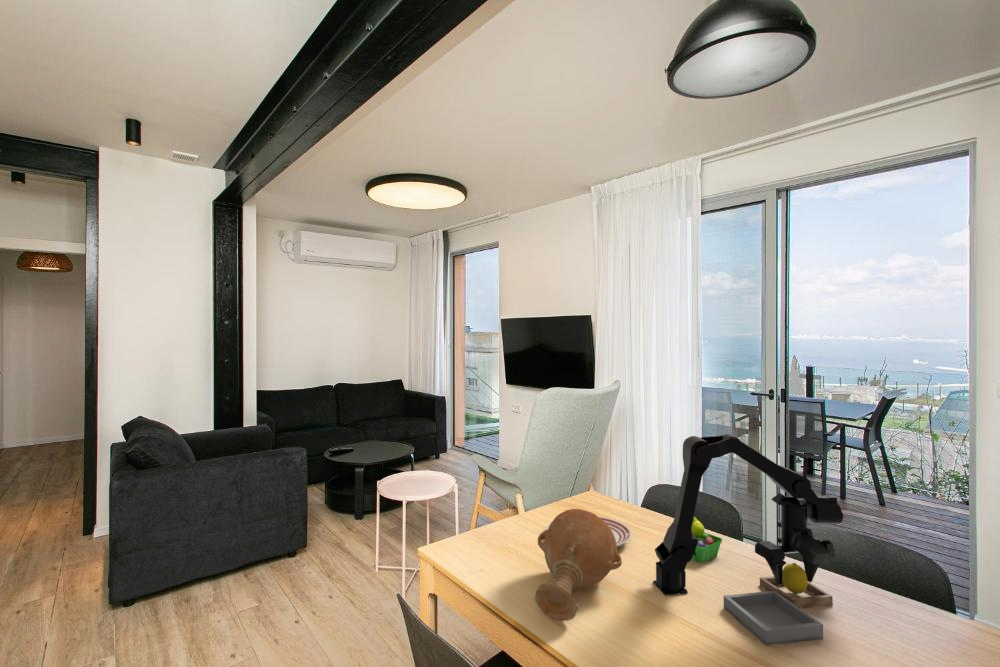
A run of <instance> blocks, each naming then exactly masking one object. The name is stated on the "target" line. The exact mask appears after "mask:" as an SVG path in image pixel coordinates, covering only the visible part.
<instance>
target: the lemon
mask: <svg viewBox="0 0 1000 667" xmlns="http://www.w3.org/2000/svg"><path fill="white" fill-rule="evenodd" d="M808 582H809V581H808V580H807V575H806V573H805V569H804V567H802V566H800V565H799V564H797V563H796V562H792V563H786V564H785V565H784V566H783V583H784V587H785V588H786V589H787V590H788V591H789V592H791V593H792V594H793V595H795V596H796V595H798V594H799V595H800V594H803V593H804V592H806V591H807V590H806V588H807V585H808Z"/></svg>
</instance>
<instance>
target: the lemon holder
mask: <svg viewBox="0 0 1000 667" xmlns="http://www.w3.org/2000/svg"><path fill="white" fill-rule="evenodd" d="M783 585H784V583H783V581H782V585H781V586H783ZM759 586H760V587H762V589H764V590H766V591H776V592H777V593H779V594H780V595H782V596H783V597H784V598H786V599H787V600H789V601H790V602H792V603H793V604H794V605H796V606H797V607H799V608H800V609H805V608H815V607H822V606H823V607H824V606H831V605H833V604H834V602H833V595H832V594H829V593H828V592H826V591H825V590H823V589H821V588H820V587H818V586H816V585H814V584H813V583H812V582H809V581H808V585H807V588H806V590H805V591H807V592H808V593H810V594H812V595H813V596H803V597H796V598H795V597H794V598H793V597H792V596H790V595H789V594H788V593H786V592H785V591H783V590H782V589H780V588H779V587H778V586H780V585H779V584H778V583H777V581H776V579H775V577H774V575H773V576H762V577H759ZM784 586H785V585H784Z"/></svg>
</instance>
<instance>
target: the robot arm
mask: <svg viewBox="0 0 1000 667" xmlns="http://www.w3.org/2000/svg"><path fill="white" fill-rule="evenodd" d="M729 454H734V455H736V456H737V457H739V458H740V459H741V460H743V461H745V462H746V463H748V464H750V465H751V466H753V467H754V468H756V469H757V470H759V471H760V472H762V473H764V474H765V475H766V476H767V477H768V478H769V479H770V480H771V481H772V482H773V483H774V484H775V485H776V486H777V487H778V488H779V489H780V490H782V491H784V492H785V493H787V494H789V496H785V495H784V494H782V493H780V492H778V493H777V495H775V496H772V498H771V501H773V502H774V503H776V504H777V505H778V506H780V521H777V522H776V523H777V524H776V526H777V527H779V528H780V537H777V542H778V543H779V544H781V545H776V544H775V543H773V542H772V541H768V540H767V541H758V542H757V541H756V543H755V544H754V553H755V554H757V555H759V556H760V557H762V558H763V559H765V561H766V563H767V564H768V566H769V569H770V571H771V573H772V575H773V576H774V577H775V579H776V581H777V583H778V584H779V585H778V586H783V585H782V581H783V569H784V567H785V566H786V565H787V564H788V563H787V562H786V561H785V558H786V555H789V554H790V555H791V554H800V555H801V556H802V560H803V561H802V562H803V570H804V571H805V573H806V575H807V580H808V582H810V583H812V582H813V581H814V580H813V579H814V577H815V576H816V573H817V571H818V569H819V567H820V564H824V565H825V564H826V563H827V561H828V560H830V558H835V548H834V543H832V541H831V540H829V539H824V540H823V539H821V538H819V537H814V536H813V531H812V528H810V527H808V519H810V521H811V522H813V523H814V524H831V525H835V524H836V525H839V524H841V523H842V522H843V519H844V513H843V512H842V508H841V506H840V504H839V503H838V498H837V497H836V496H834V495H833V494H826V495H818V494H816V493H815V491H814V490H813V489H812V484H811V481H810V480H809V478H807V477H806V476H804V475H801V474H800V473H798V472H796V471H794V470H792V469H790V468H787V467H785V466H783V465H780V464H777V463H775V462H774V461H773V460H771V459H769V458H767V457H766V456H765V455H763V454H762V453H760V452H759V451H757V450H755V449H753V448H752V447H750V446H749V445H748V444H746V443H744V442H743V441H741V439H739V438H738V437H737V436H734V435H732V434H729V433H726V434H722V435H712V436H710V435H709V436H702V437H699V436H696V435H691V436H689V437H687V438H685V439H684V440H683V442H682V462H683V474H682V479H681V483H680V488H679V493H678V498H677V504H676V508H675V513H674V517H673V522H672V523H671V524H670V525H669V526H668V528H667V529H666V530H667V531H665V532H666V533H665V536H664V538H663V541H662V542H661V543H660V544H659V545H658V546H657V547H655V549H654V552H655V554H656V557H657V558H658V560H659V561H656V562H655V580H653V581H652V582H653V585H654V586H655V587H656V588H657V589H658V590H659V591H660V593H662V594H663V595H665V596H673V595H682V594H688V593H689V591H688V590H687V589H686V584H687V582H686V579H687V578H686V576H687V575H686V573H687V572H686V569H687V568H686V567H687V565H688V563H690V562H691V561H693V560H692V557H693V555H694V556H696V553H695V549H696V546H697V544H698V539H697V538H696V537H695V535H694V534H693V533H692V524H693V519H694V517H695V514H696V507H697V502H698V500H699V499H698V498H699V494H700V489H701V483H702V479H703V476H704V474H705V472H706V471H707V470H708V468H709V467H710V464H711V462H712V460H713V459H716V458H721V457H723V456H725V455H729ZM790 495H791V496H790Z"/></svg>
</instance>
